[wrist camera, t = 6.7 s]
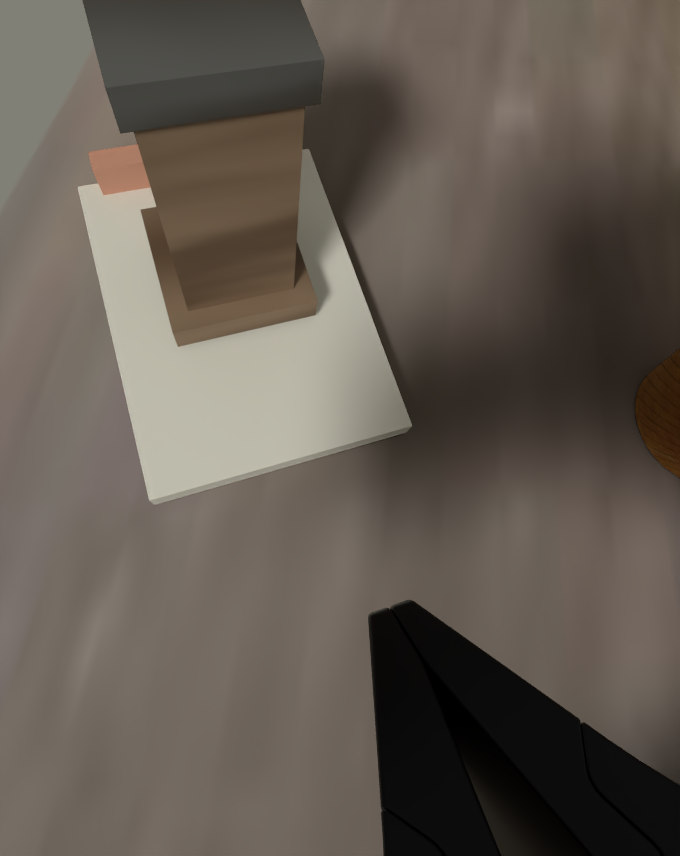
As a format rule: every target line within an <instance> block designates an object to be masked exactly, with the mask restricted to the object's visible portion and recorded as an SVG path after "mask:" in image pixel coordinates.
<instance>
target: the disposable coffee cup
mask: <svg viewBox="0 0 680 856" xmlns="http://www.w3.org/2000/svg"><path fill="white" fill-rule="evenodd" d="M679 349H680V348H679ZM635 414H636V420H637V425H638V428H639V431H640V434H641V436H642V439H643V441H644V442H645V444H646V446H647V448H648V449H649V450H650V452H651V453H652V454H653V456H654V457H655V458H656V459H657V460H658V461H659V462H660V463H661V465H662V466H663V467H665V468H666V469H668V470H669V471H671V472H672V473H673V474H675V475H676V476H678V477H679V478H680V350H676V351H675V352H674V353H673V354H672V355H671V357H670V356H669V357H668V358H667V359H666V360H665V361H664V362H663V364H662V363H661V364H660V365H659V366H658V367H656V368H655V369H654V370H652V371H651V372H650V373H649V374H648V375H647V376H646V377H645V378H644V380H643V381H642V383H641V385H640V387H639V389H638V392H637V396H636V402H635Z"/></svg>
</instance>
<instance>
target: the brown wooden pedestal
mask: <svg viewBox="0 0 680 856" xmlns="http://www.w3.org/2000/svg"><path fill="white" fill-rule="evenodd" d="M83 4H84V8H85V12H86V15H87V19H88V23H89V27H90V31H91V35H92V39H93V42H94V46H95V50H96V54H97V58H98V62H99V65H100V69H101V73H102V77H103V81H104V85H105V88H106V91H107V94H108V97H109V100H110V103H111V106H112V109H113V112H114V115H115V118H116V121H117V124H118V127H119V130H120V133H127V132H134V134H135V138H136V141H137V144H138V147H139V151H140V154H141V157H142V161H143V164H144V167H145V170H146V174H147V177H148V180H149V184H150V187H151V190H152V194H153V197H154V200H155V203H156V207H152V208H147V209H141V214H142V218H143V222H144V226H145V230H146V233H147V237H148V241H149V245H150V249H151V252H152V256H153V260H154V264H155V268H156V272H157V275H158V279H159V283H160V287H161V291H162V294H163V298H164V302H165V306H166V310H167V313H168V317H169V321H170V325H171V329H172V333H173V335H174V338H175V341H176V343H177V346H178V347H180V346H184V345H189V344H193V343H197V342H202V341H206V340H210V339H215V338H219V337H223V336H228V335H232V334H236V333H241V332H245V331H249V330H254V329H258V328H262V327H267V326H271V325H275V324H280V323H284V322H288V321H293V320H297V319H301V318H306V317H310V316H314V315H316V309H317V302H318V300H317V297H316V295H315V292H314V289H313V286H312V283H311V280H310V277H309V274H308V272H307V269H306V266H305V263H304V260H303V257H302V254H301V251H300V249H299V246H298V243H297V228H298V212H299V196H300V179H301V163H302V147H303V131H304V115H305V106H310V105H317V104H320V101H321V90H322V80H323V69H324V57H323V55H322V52H321V50H320V47H319V45H318V42H317V40H316V37H315V35H314V32H313V30H312V27H311V25H310V23H309V20H308V18H307V15H306V13H305V10H304V8H303V5H302V3H301V0H83Z"/></svg>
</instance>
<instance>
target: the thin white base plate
mask: <svg viewBox="0 0 680 856" xmlns="http://www.w3.org/2000/svg"><path fill="white" fill-rule="evenodd" d="M88 153H89V157H90V161H91V166H92V170H93V172H94V175H95V177H96V179H97V182H98V184H91V185H85V186H79V187H78V191H79V195H80V199H81V204H82V208H83V212H84V217H85V221H86V226H87V230H88V234H89V239H90V243H91V247H92V252H93V256H94V261H95V265H96V269H97V274H98V278H99V282H100V287H101V291H102V296H103V300H104V304H105V309H106V313H107V317H108V322H109V326H110V331H111V335H112V339H113V344H114V348H115V352H116V357H117V361H118V366H119V370H120V374H121V379H122V383H123V387H124V392H125V396H126V401H127V405H128V409H129V414H130V418H131V422H132V427H133V431H134V436H135V440H136V444H137V449H138V453H139V457H140V462H141V466H142V471H143V475H144V479H145V484H146V488H147V492H148V497H149V501H151V502H152V503H153V504H154V505H156V504H160V503H163V502H167V501H170V500H173V499H177V498H180V497H184V496H187V495H191V494H194V493H198V492H201V491H205V490H208V489H212V488H215V487H219V486H222V485H226V484H229V483H233V482H236V481H240V480H243V479H247V478H250V477H254V476H257V475H261V474H264V473H267V472H271V471H274V470H278V469H281V468H285V467H288V466H292V465H295V464H299V463H302V462H306V461H309V460H313V459H316V458H320V457H323V456H327V455H330V454H334V453H337V452H341V451H344V450H348V449H351V448H355V447H358V446H361V445H365V444H368V443H372V442H375V441H379V440H382V439H386V438H389V437H393V436H396V435H400V434H403V433H407V432H408V430H409V429H410V428H411V427H412V424H411V421H410V418H409V416H408V413H407V410H406V408H405V405H404V402H403V400H402V397H401V394H400V392H399V389H398V386H397V384H396V381H395V378H394V375H393V373H392V370H391V367H390V365H389V362H388V359H387V357H386V354H385V351H384V349H383V346H382V343H381V341H380V338H379V335H378V333H377V330H376V327H375V325H374V322H373V319H372V317H371V314H370V311H369V309H368V306H367V303H366V301H365V298H364V295H363V293H362V290H361V287H360V285H359V282H358V279H357V276H356V274H355V271H354V268H353V266H352V263H351V260H350V258H349V255H348V252H347V250H346V247H345V244H344V242H343V239H342V236H341V234H340V231H339V228H338V226H337V223H336V220H335V218H334V215H333V212H332V210H331V207H330V204H329V202H328V199H327V196H326V194H325V191H324V188H323V186H322V183H321V180H320V177H319V175H318V172H317V169H316V167H315V164H314V161H313V159H312V156H311V153H310V151H309V149H304V150H302V163H301V179H300V196H299V212H298V228H297V243H298V246H299V249H300V251H301V254H302V257H303V260H304V263H305V266H306V269H307V272H308V274H309V277H310V280H311V283H312V286H313V289H314V292H315V295H316V297H317V300H318V302H317V309H316V315H314V316H310V317H306V318H301V319H297V320H293V321H288V322H284V323H280V324H275V325H271V326H267V327H262V328H258V329H254V330H249V331H245V332H241V333H236V334H232V335H228V336H223V337H219V338H215V339H210V340H206V341H202V342H197V343H193V344H189V345H184V346H180V347H178V346H177V343H176V341H175V338H174V335H173V333H172V329H171V325H170V321H169V317H168V313H167V310H166V306H165V302H164V298H163V294H162V291H161V287H160V283H159V279H158V275H157V272H156V268H155V264H154V260H153V256H152V252H151V249H150V245H149V241H148V237H147V233H146V230H145V226H144V222H143V218H142V214H141V209H147V208H152V207H156V203H155V200H154V197H153V194H152V190H151V187H150V184H149V180H148V177H147V174H146V170H145V167H144V164H143V161H142V157H141V154H140V151H139V147H138V144H137V145H131V146H124V147H118V148H111V149H105V150H98V151H92V152H88Z"/></svg>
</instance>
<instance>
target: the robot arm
mask: <svg viewBox="0 0 680 856" xmlns="http://www.w3.org/2000/svg"><path fill="white" fill-rule="evenodd" d="M368 623H369V638H370V653H371V667H372V682H373V697H374V712H375V726H376V741H377V756H378V770H379V785H380V800H381V809H382V812H381V819H382V833H383V854H384V856H680V785H679V784H677V783H675V782H674V781H672V780H670V779H669V778H667V777H665V776H664V775H662V774H661V773H659V772H657V771H656V770H654V769H652V768H651V767H649V766H647V765H646V764H644V763H643V762H641V761H639V760H638V759H636V758H635V757H633V756H632V755H631V754H629V753H628V752H626V751H625V750H623V749H622V748H620V747H619V746H617V745H616V744H614V743H613V742H611V741H610V740H608V739H607V738H605V737H604V736H603V735H601V734H600V733H598V732H597V731H596V730H594V729H593V728H592V727H590V726H589V725H587V724H586V723H580V720H579V718H577V717H576V716H574V715H573V714H572V713H570V712H569V711H567V710H566V709H565V708H563V707H562V706H560V705H559V704H558V703H556V702H555V701H553V700H552V699H551V698H549V697H548V696H546V695H545V694H543V693H542V692H541V691H539V690H538V689H536V688H535V687H534V686H532V685H531V684H529V683H528V682H527V681H525V680H524V679H522V678H521V677H520V676H518V675H517V674H515V673H514V672H513V671H511V670H510V669H508V668H507V667H506V666H504V665H503V664H501V663H500V662H498V661H497V660H496V659H494V658H493V657H491V656H490V655H489V654H487V653H486V652H484V651H483V650H482V649H480V648H479V647H477V646H476V645H475V644H473V643H472V642H470V641H469V640H468V639H466V638H465V637H463V636H462V635H461V634H459V633H458V632H456V631H455V630H453V629H452V628H451V627H449V626H448V625H446V624H445V623H444V622H442V621H441V620H439V619H438V618H437V617H435V616H434V615H432V614H431V613H430V612H428V611H427V610H425V609H424V608H423V607H421V606H420V605H418V604H417V603H416V602H414V601H412V600H406V601H403V602H400V603H398V604H395V605H393V606H391V608H390V609H389V608H384V609H381V610H378V611H375V612H372V613H370V614H369V616H368Z"/></svg>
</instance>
